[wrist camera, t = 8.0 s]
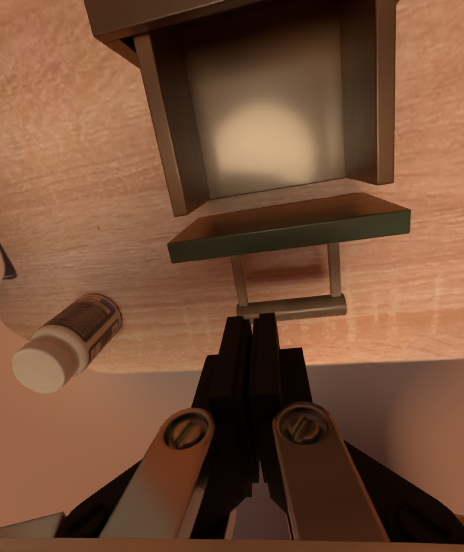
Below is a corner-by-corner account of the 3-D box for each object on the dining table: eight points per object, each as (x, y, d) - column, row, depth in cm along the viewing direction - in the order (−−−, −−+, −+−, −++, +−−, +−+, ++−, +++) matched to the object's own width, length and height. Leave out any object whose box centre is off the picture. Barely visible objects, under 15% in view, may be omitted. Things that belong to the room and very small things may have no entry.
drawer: (366, 281, 24) (407, 334, 17) (214, 297, 26) (192, 350, 19) (360, -25, 18) (422, -152, 10) (159, 29, 20) (95, -46, 13)
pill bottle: (67, 299, 29) (-8, 350, 21) (109, 287, 28) (47, 337, 20) (89, 340, 31) (26, 403, 23) (130, 331, 30) (80, 393, 22)
